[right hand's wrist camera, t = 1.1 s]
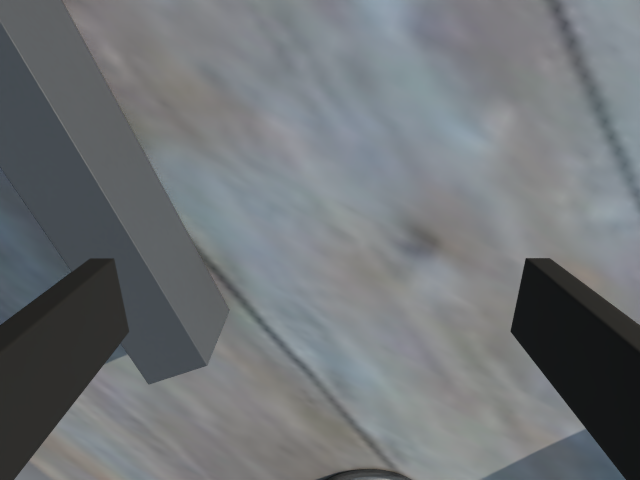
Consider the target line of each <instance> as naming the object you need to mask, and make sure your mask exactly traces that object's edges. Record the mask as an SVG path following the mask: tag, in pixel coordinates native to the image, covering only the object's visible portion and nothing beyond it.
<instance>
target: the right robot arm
mask: <svg viewBox="0 0 640 480" xmlns="http://www.w3.org/2000/svg"><path fill="white" fill-rule="evenodd" d="M128 333H129V327H128V322H127V318H126V313H125V308H124V303H123V298H122V294H121V289H120V284H119V279H118V274H117V270H116V265H115V260H114V258H90V259H89V260H87V261H86V262H85V263H83V264H82V265H81V266H79V267H78V268H76V269H75V270H74V271H72V272H71V273H70V274H68V275H67V276H66V277H64V278H63V279H62V280H60V281H59V282H58V283H56V284H55V285H54V286H52V287H51V288H50V289H48V290H47V291H46V292H44V293H43V294H42V295H40V296H39V297H38V298H36V299H35V300H34V301H32V302H31V303H29V304H28V305H27V306H25V307H24V308H23V309H21V310H20V311H19V312H17V313H16V314H15V315H13V316H12V317H11V318H9V319H8V320H7V321H5V322H4V323H3V324H1V325H0V480H14V479H15V478H16V476H17V475H18V474H19V473H20V471H21V470H22V469H23V467H24V466H25V465H26V464H27V462H28V461H29V460H30V458H31V457H32V456H33V455H34V453H35V452H36V451H37V449H38V448H39V447H40V446H41V444H42V443H43V442H44V440H45V439H46V438H47V437H48V435H49V434H50V433H51V432H52V430H53V429H54V428H55V426H56V425H57V424H58V423H59V421H60V420H61V419H62V417H63V416H64V415H65V414H66V412H67V411H68V410H69V408H70V407H71V406H72V405H73V403H74V402H75V401H76V399H77V398H78V397H79V396H80V394H81V393H82V392H83V390H84V389H85V388H86V387H87V385H88V384H89V383H90V381H91V380H92V379H93V378H94V376H95V375H96V374H97V373H98V371H99V370H100V369H101V367H102V366H103V365H104V364H105V362H106V361H107V360H108V358H109V357H110V356H111V355H112V353H113V352H114V351H115V349H116V348H117V347H118V346H119V344H120V343H121V342H122V340H123V339H124V338H125V337H126V335H127V334H128ZM511 333H512V334H513V335H514V337H515V338H516V339H517V340H518V342H519V343H520V344H521V346H522V347H523V348H524V349H525V351H526V352H527V353H528V355H529V356H530V357H531V358H532V360H533V361H534V362H535V364H536V365H537V366H538V367H539V369H540V370H541V371H542V373H543V374H544V375H545V376H546V378H547V379H548V380H549V381H550V383H551V384H552V385H553V387H554V388H555V389H556V390H557V392H558V393H559V394H560V396H561V397H562V398H563V399H564V401H565V402H566V403H567V405H568V406H569V407H570V408H571V410H572V411H573V412H574V414H575V415H576V416H577V417H578V419H579V420H580V421H581V423H582V424H583V425H584V426H585V428H586V429H587V430H588V432H589V433H590V434H591V435H592V437H593V438H594V439H595V440H596V442H597V443H598V444H599V446H600V447H601V448H602V449H603V451H604V452H605V453H606V455H607V456H608V457H609V458H610V460H611V461H612V462H613V464H614V465H615V466H616V467H617V469H618V470H619V471H620V473H621V474H622V475H623V476H624V478H625V479H626V480H640V325H639V324H637V323H636V322H635V321H633V320H632V319H631V318H629V317H628V316H627V315H625V314H624V313H623V312H621V311H620V310H619V309H617V308H616V307H615V306H613V305H612V304H611V303H609V302H608V301H606V300H605V299H604V298H602V297H601V296H600V295H598V294H597V293H596V292H594V291H593V290H592V289H590V288H589V287H588V286H586V285H585V284H584V283H582V282H581V281H580V280H578V279H577V278H576V277H574V276H573V275H572V274H570V273H569V272H568V271H566V270H565V269H564V268H562V267H561V266H559V265H558V264H557V263H555V262H554V261H553V260H551V259H550V258H526V260H525V265H524V270H523V274H522V279H521V284H520V289H519V294H518V298H517V303H516V308H515V313H514V318H513V322H512V327H511ZM327 480H411V479H409V478H407V477H405V476H403V475H400V474H397V473H394V472H390V471H385V470H377V469H362V470H354V471H349V472H345V473H341V474H339V475H336V476H334V477H331V478H329V479H327Z"/></svg>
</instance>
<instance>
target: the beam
mask: <svg viewBox="0 0 640 480" xmlns="http://www.w3.org/2000/svg"><path fill="white" fill-rule="evenodd" d="M0 168H1V169H2V170H3V172H4V173H5V175H6V176H7V178H8V179H9V181H10V182H11V184H12V185H13V187H14V188H15V189H16V191H17V192H18V194H19V195H20V197H21V198H22V200H23V201H24V203H25V204H26V206H27V207H28V209H29V210H30V211H31V213H32V214H33V216H34V217H35V219H36V220H37V222H38V223H39V225H40V226H41V228H42V229H43V230H44V232H45V233H46V235H47V236H48V238H49V239H50V241H51V242H52V244H53V245H54V247H55V248H56V250H57V251H58V252H59V254H60V255H61V257H62V258H63V260H64V261H65V263H66V264H67V266H68V267H69V269H70V270H71V271H74V270H75V269H76V268H78V267H79V266H81V265H82V264H83V263H85V262H86V261H87V260H89V259H90V258H114V260H115V265H116V270H117V274H118V279H119V284H120V289H121V294H122V298H123V303H124V308H125V313H126V318H127V322H128V327H129V333H128V334H127V335H126V337H125V338H124V339H123V340H122V342H121V345H122V346H123V348H124V349H125V351H126V352H127V353H128V355H129V356H130V358H131V359H132V361H133V362H134V364H135V365H136V367H137V368H138V370H139V371H140V372H141V374H142V375H143V377H144V378H145V380H146V381H147V383H148V384H152V383H155V382H158V381H161V380H164V379H167V378H170V377H173V376H176V375H180V374H183V373H186V372H189V371H192V370H195V369H198V368H201V367H204V366H207V365H208V362H209V360H210V357H211V355H212V353H213V350H214V348H215V345H216V343H217V340H218V338H219V335H220V333H221V330H222V328H223V325H224V323H225V320H226V318H227V315H228V313H229V308H228V307H227V305H226V303H225V301H224V299H223V297H222V295H221V294H220V292H219V290H218V288H217V286H216V284H215V282H214V281H213V279H212V277H211V275H210V273H209V271H208V270H207V268H206V266H205V264H204V262H203V260H202V258H201V257H200V255H199V253H198V251H197V249H196V247H195V246H194V244H193V242H192V240H191V238H190V236H189V234H188V233H187V231H186V229H185V227H184V225H183V223H182V221H181V220H180V218H179V216H178V214H177V212H176V210H175V209H174V207H173V205H172V203H171V201H170V199H169V197H168V196H167V194H166V192H165V190H164V188H163V186H162V185H161V183H160V181H159V179H158V177H157V175H156V173H155V172H154V170H153V168H152V166H151V164H150V162H149V160H148V159H147V157H146V155H145V153H144V151H143V149H142V148H141V146H140V144H139V142H138V140H137V138H136V136H135V135H134V133H133V131H132V129H131V127H130V125H129V124H128V122H127V120H126V118H125V116H124V114H123V112H122V111H121V109H120V107H119V105H118V103H117V101H116V99H115V98H114V96H113V94H112V92H111V90H110V88H109V87H108V85H107V83H106V81H105V79H104V77H103V75H102V74H101V72H100V70H99V68H98V66H97V64H96V63H95V61H94V59H93V57H92V55H91V53H90V51H89V50H88V48H87V46H86V44H85V42H84V40H83V38H82V37H81V35H80V33H79V31H78V29H77V27H76V26H75V24H74V22H73V20H72V18H71V16H70V14H69V13H68V11H67V9H66V7H65V5H64V3H63V2H62V0H0Z"/></svg>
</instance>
